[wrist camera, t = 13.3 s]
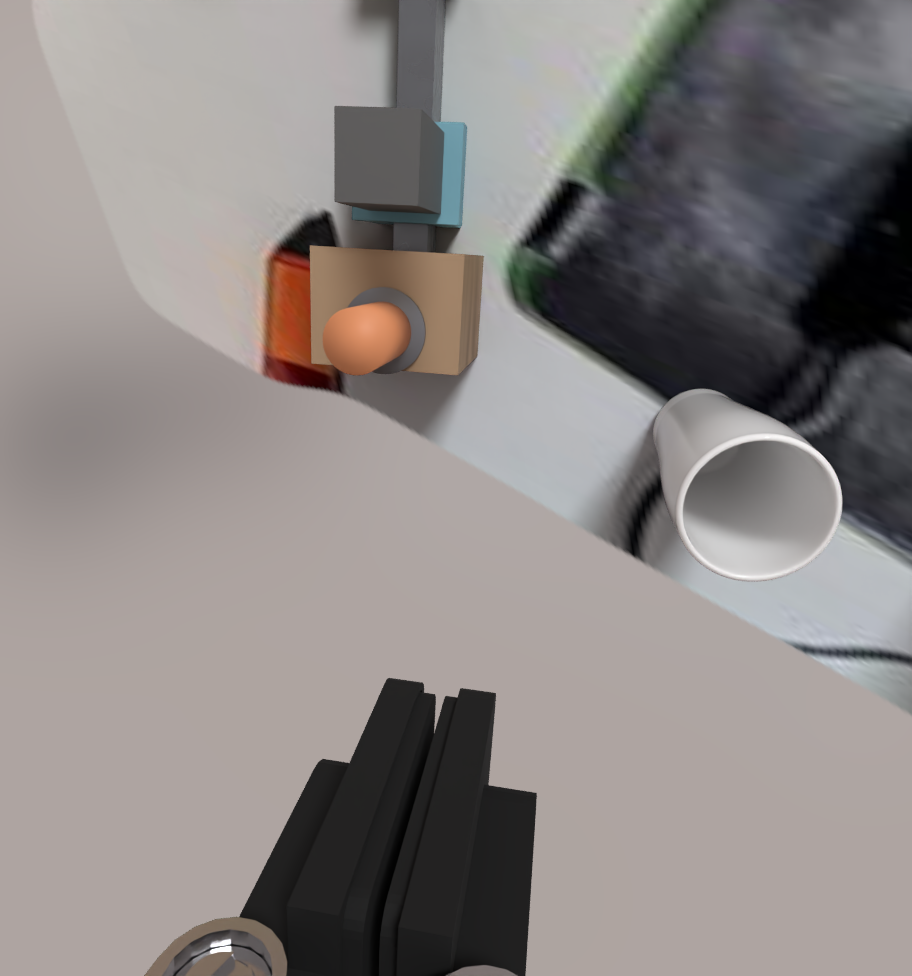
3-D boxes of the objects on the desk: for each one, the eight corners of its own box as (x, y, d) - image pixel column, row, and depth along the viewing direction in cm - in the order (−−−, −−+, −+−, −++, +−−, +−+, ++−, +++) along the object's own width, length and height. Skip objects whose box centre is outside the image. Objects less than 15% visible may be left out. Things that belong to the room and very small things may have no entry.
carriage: (473, 135, 40) (444, 96, 30) (468, 228, 41) (438, 218, 32) (372, 132, 40) (313, 92, 31) (371, 223, 42) (314, 212, 33)
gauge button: (412, 303, 35) (387, 309, 30) (410, 362, 36) (386, 378, 31) (355, 299, 35) (322, 305, 31) (354, 358, 36) (322, 372, 32)
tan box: (483, 255, 42) (463, 254, 34) (477, 359, 44) (456, 380, 36) (349, 248, 43) (300, 245, 35) (349, 349, 45) (302, 367, 37)
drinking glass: (677, 355, 42) (733, 402, 27) (776, 407, 42) (882, 481, 28) (619, 450, 44) (643, 538, 30) (713, 499, 44) (780, 611, 30)
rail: (476, -67, 37) (465, -104, 33) (459, 254, 42) (448, 253, 38) (384, -66, 37) (364, -103, 33) (379, 250, 42) (360, 248, 39)
